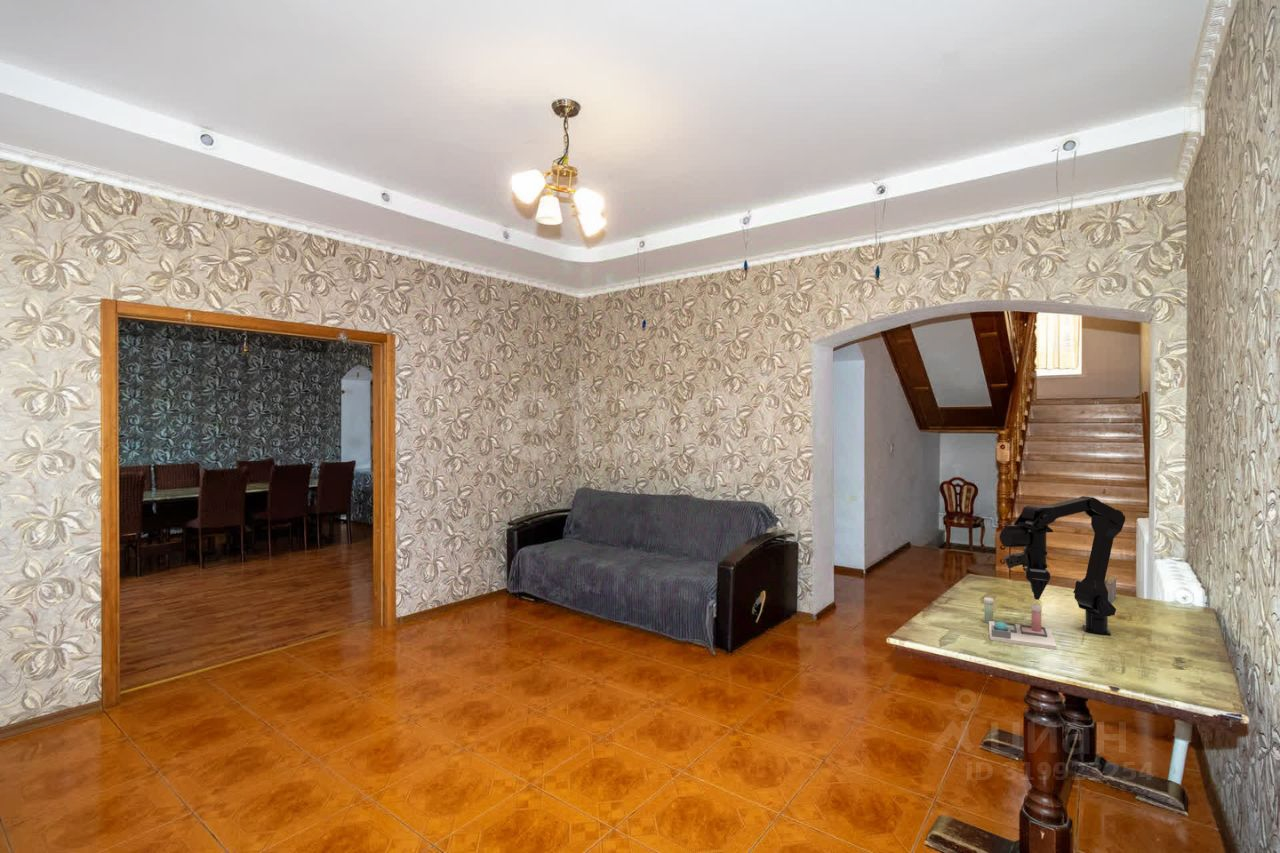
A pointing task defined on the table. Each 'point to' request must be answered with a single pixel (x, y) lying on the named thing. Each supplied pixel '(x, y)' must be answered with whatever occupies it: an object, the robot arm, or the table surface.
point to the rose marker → (1036, 617)
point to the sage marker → (988, 609)
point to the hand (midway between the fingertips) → (1035, 595)
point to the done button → (1000, 626)
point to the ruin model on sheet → (1111, 587)
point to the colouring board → (1023, 635)
